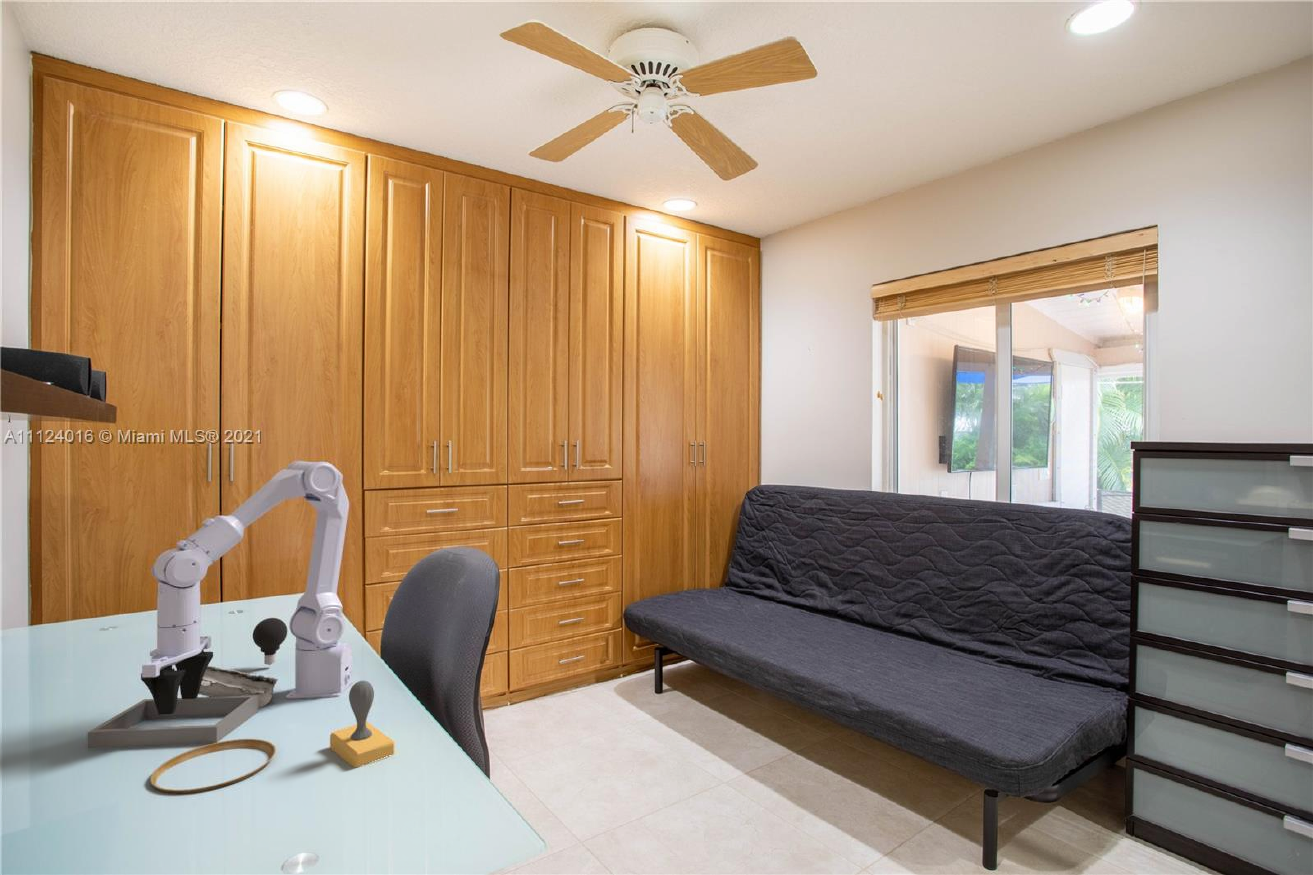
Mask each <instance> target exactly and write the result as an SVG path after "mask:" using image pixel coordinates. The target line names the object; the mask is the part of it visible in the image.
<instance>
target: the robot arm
mask: <svg viewBox="0 0 1313 875" xmlns="http://www.w3.org/2000/svg"><path fill="white" fill-rule="evenodd" d="M343 478H344V474H342V473H341V472H340V471H339V470H338V468H336V467H335V466H334V465H333V464H331V463H330V462H326V461H317V462H316V461H315V462H314V461H305V460H296V461H293V462H292V463H290V464H289V465H287V467H286V468H283V469H281V470H280V471H278V472H276V474H275V475H273V477H271V479H270V480H268V482H266V483H265V484H264V485H263V486H262V487H260V489H258V490H257V491H256V492H254V493H253V494H252V495H251V496H250V497H249V498H248V499H247V500H245V501H244V502H243V503H242V504H241V505H240V506H238V507H237V508H236V509H235V510H234V511H233V512H231V513H230V514H229V515H216V516H214V517H213V518H211V517H207V518H206V519H205V520H203V521H202V522H201V524H202V526H201V527H200V528H199V529H198V530H196V531H195V532H194V533H193V534H191V535H189V537H187V538H186V539H184V540H183V539H180V540H179V541H178V542H176V546H177V548H172V549H168V550H166V551H163V552H162V553H161V554H160V555H158V557H157V558H156V559H155V563H154V564H153V567H151V568H150V572H151V575H152V576H153V577H154V579H155V580H156V581H157V598H156V603H157V604H156V605H157V606H156V611H157V612H156V648H155V649H153V650H151V651H150V652H149V657H150V658H149V659H148V661H147V662H145V663H144V664H142V666H141V673H140V680H141V681H142V682H143V683H144V685H145V686H146V687H147V689H148V690H149V692H150V694H151V696H152V699H154V702H155V705H156V708H157V711H158V714H159V715H162V714H173V713H174V712H175V709H176V705H177V698H179V697H178V695H179V691H180V698H182V699H196V698H197V697H198V696H199V695H200V694H199V690H200V686H201V683H202V679H203V676H204V673H205V671H206V669H207V666H209V664H210V663H211V661H212V659H213V658H214V652H213V651H205V650H208V649H210V648H211V647H212V636H210V635H207V636H201V581H202V580H203V579H204V578H205V577H206V574H207V571H208V567H210V566H211V565H213V564H214V563H215V562H216V561H218V560H219V559H220V558H222V557H223V556H224V555H225V554H226V553H227V552H229V551H230V550H232V548H233V547H235V546H236V545H237V544H239V543H240V542H241V541H242V540H243V537H244V532H245V529H246V528H247V527H248V526H250V525H251V524H253V523H254V522H255V521H257V520H258V519H260V518H261V517H262V516H263V515H265V514H266V513H267V512H269V511H271V509H273V508H275V507H276V506H277V505H279V504H280V503H281V502H282V501H285V500H290V499H296V498H301V497H302V498H303V499H305V500H306V501H307V502H308V503H309V504H310V505H311V506H312V507H313V508H314V509H315V510H316V511H317V512H316V514H317V515H316V518H315V519H316V520H315V527H314V534H313V540H312V545H311V546H312V547H311V554H310V559H309V567H308V572H307V573H308V574H307V579H306V580H307V581H306V586H305V593H304V594H302V596H300V598H299V599H298V600H297V603H296V604H297V605H296V609H295V611H294V613H293V614H292V616H291V617H290V620H289V627H288V628H289V631H290V633H291V635H293V636H294V637H295V645H294V646H295V648H294V649H295V650H294V651H295V653H294V654H295V656H294V658H295V663H294V664H295V668H294V669H295V672H294V673H295V677H294V679H295V682H294V683H295V684H294V686H295V688H294V689H293V690H292V691H290V692H289V693H288V694H287V695H286V696H285V698H286V699H287V700H288V699H290V700H291V699H313V698H314V699H315V698H318V699H319V698H320V699H321V698H338V697H341V695H342V694H343V693H344V692H345V691H346V690H347V689H348V688H349V687H350V686H351V685H352V684H353V683H354V678H353V648H352V645H351V644H350V643H346V642H345V643H343V642H340V641H339V640H340V639H341V638H342V636H343V634H344V632H345V628H346V627H345V620H344V618H343V605H342V602H341V600H340V598H339V596H338V584H339V577H340V573H341V572H340V571H341V564H342V557H343V553H344V552H343V550H344V544H345V538H346V537H345V536H346V532H347V531H346V530H347V523H348V517H349V510H350V501H349V498H348V495H347V492H346V489H345V487H344V484H343V481H344V480H343ZM173 666H175V668H173Z"/></svg>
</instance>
